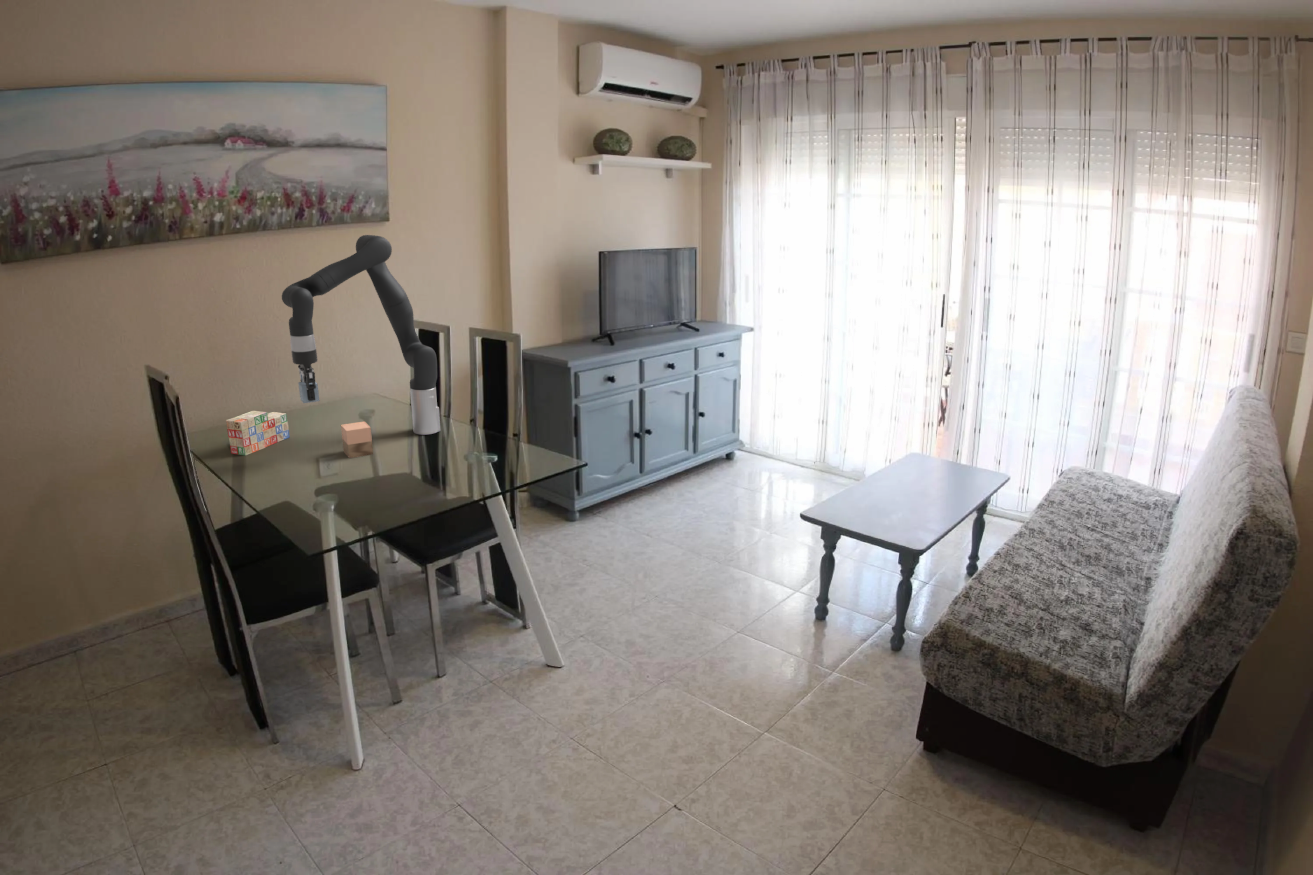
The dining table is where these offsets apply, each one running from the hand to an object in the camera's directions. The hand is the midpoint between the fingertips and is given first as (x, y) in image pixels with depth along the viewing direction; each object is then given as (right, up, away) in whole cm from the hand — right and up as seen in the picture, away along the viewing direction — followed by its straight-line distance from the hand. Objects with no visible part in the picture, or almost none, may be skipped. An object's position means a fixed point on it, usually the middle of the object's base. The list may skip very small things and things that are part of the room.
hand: (309, 398), depth 268 cm
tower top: (+12, -14, +11) cm, 21 cm away
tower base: (+12, -19, +12) cm, 25 cm away
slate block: (0, -1, 0) cm, 1 cm away
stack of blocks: (-25, -16, +18) cm, 35 cm away
